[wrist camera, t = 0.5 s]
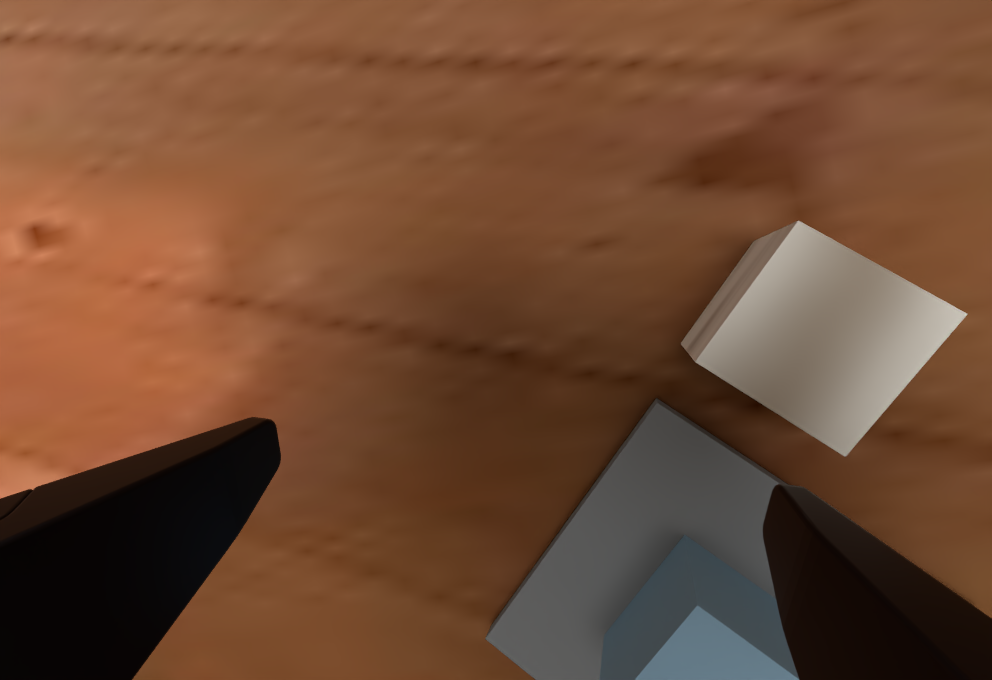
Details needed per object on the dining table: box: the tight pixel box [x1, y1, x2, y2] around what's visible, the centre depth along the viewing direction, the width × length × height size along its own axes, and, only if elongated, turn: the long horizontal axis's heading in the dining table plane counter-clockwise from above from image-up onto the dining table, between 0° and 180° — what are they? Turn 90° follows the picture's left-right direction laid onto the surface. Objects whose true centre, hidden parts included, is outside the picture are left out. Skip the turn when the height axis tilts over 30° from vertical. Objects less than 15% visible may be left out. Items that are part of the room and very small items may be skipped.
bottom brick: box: [599, 535, 799, 680], centre depth 19 cm, size 6×6×5 cm
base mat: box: [485, 398, 788, 680], centre depth 22 cm, size 14×14×1 cm
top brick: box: [680, 221, 967, 457], centre depth 18 cm, size 5×5×6 cm
